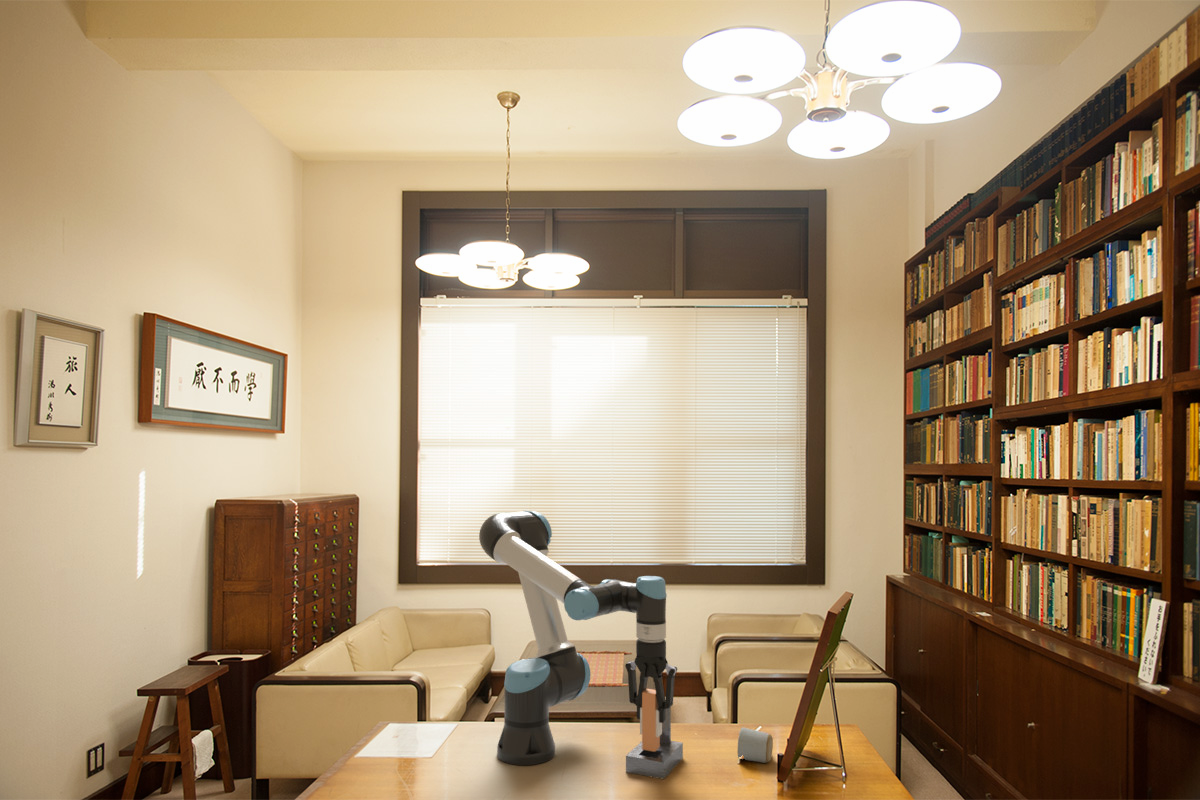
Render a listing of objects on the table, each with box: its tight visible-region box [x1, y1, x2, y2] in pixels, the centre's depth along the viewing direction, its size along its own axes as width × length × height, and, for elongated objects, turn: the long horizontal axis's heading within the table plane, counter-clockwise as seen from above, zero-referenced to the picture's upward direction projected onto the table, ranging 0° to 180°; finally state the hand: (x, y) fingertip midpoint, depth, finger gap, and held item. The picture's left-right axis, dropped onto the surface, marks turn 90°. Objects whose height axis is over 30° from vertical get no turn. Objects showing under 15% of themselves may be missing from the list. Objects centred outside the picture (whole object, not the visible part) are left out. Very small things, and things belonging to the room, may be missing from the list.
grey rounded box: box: [737, 727, 774, 764], centre depth 206 cm, size 11×8×8 cm
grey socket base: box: [625, 706, 684, 780], centre depth 202 cm, size 10×15×14 cm, turn 156°
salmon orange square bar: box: [641, 688, 660, 752], centre depth 199 cm, size 3×3×14 cm
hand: (651, 733), depth 199 cm, fingers closed on salmon orange square bar, 3 cm apart
